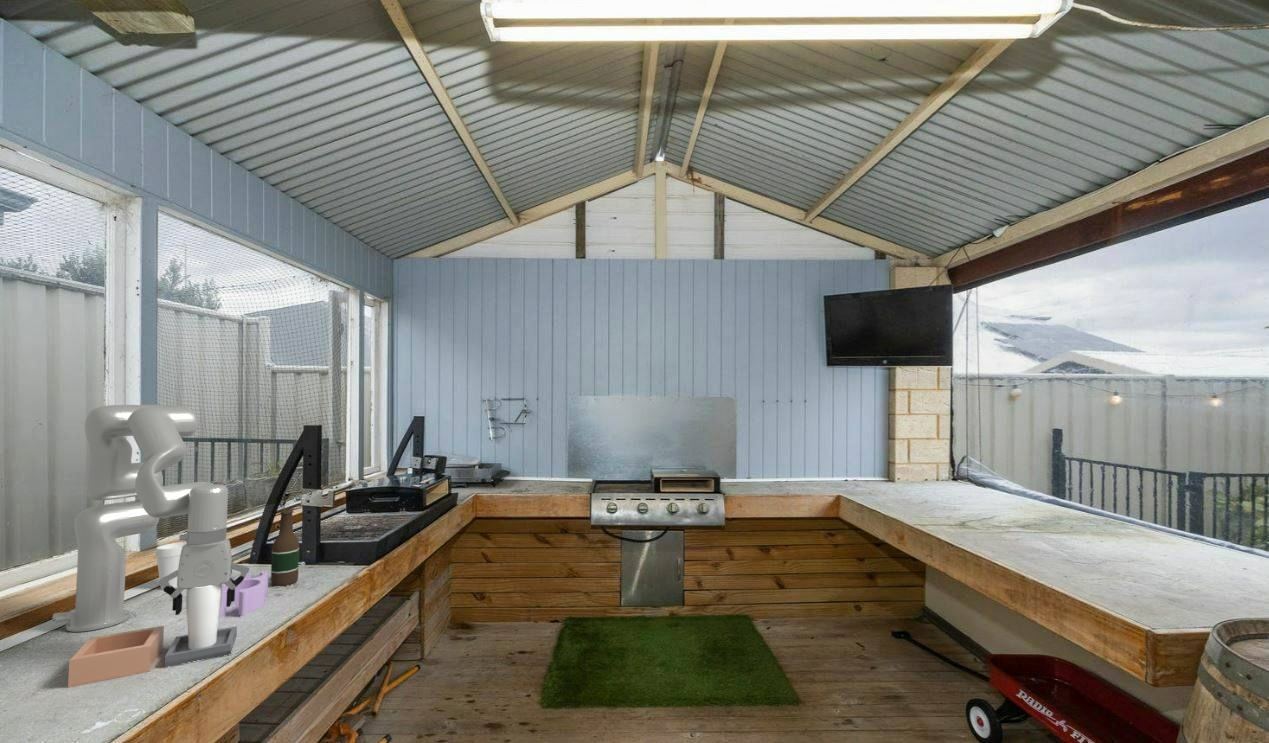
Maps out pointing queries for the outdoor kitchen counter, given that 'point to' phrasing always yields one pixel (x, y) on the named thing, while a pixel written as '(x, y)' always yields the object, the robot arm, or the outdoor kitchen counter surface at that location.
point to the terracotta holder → (116, 656)
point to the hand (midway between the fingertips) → (204, 608)
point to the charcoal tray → (184, 655)
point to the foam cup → (169, 560)
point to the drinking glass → (203, 615)
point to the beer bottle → (285, 553)
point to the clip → (247, 594)
